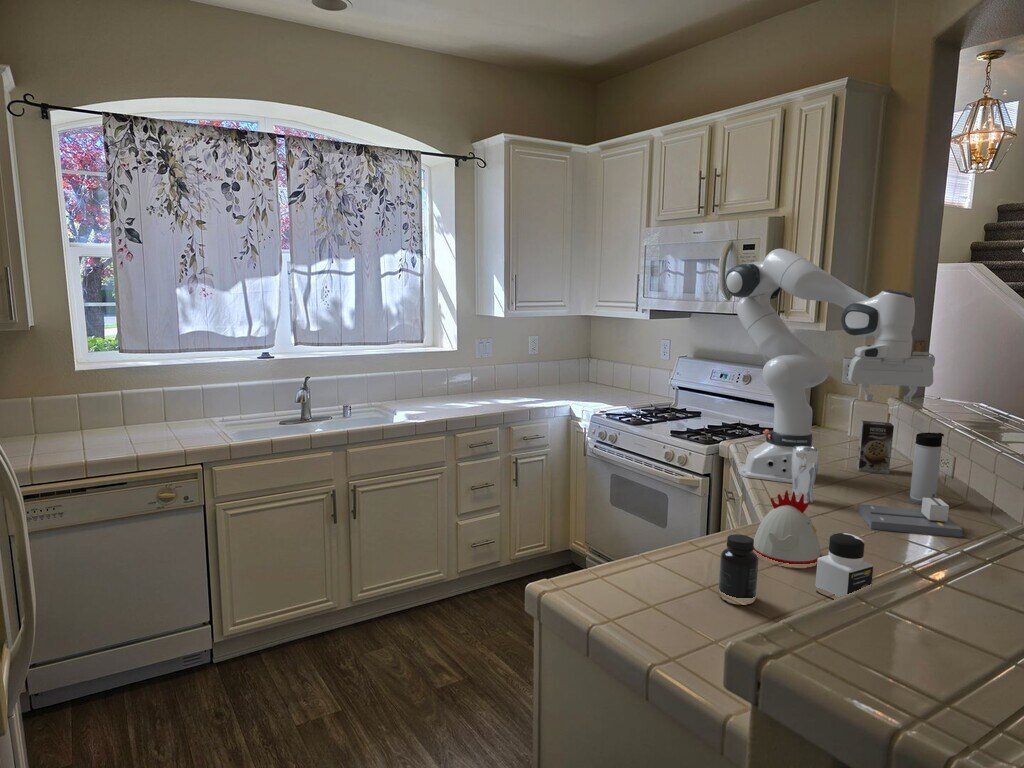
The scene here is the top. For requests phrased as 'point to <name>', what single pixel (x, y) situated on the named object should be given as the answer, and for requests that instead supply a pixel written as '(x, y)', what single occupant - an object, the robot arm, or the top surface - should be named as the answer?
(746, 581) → the supplement bottle
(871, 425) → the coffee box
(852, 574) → the medicine bottle
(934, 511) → the fader knob
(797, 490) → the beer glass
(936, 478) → the travel mug
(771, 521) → the kitchen timer
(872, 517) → the fader panel
